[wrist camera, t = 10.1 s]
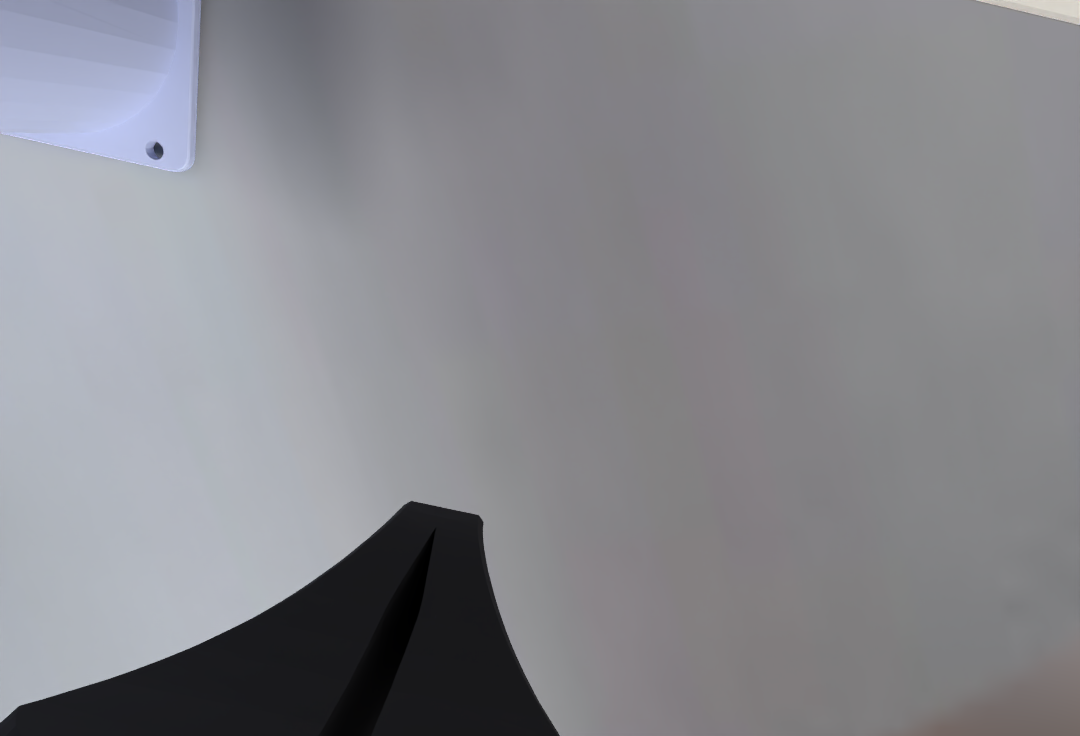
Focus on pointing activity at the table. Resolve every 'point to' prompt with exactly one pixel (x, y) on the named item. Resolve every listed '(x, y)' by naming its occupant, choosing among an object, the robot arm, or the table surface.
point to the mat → (1044, 8)
